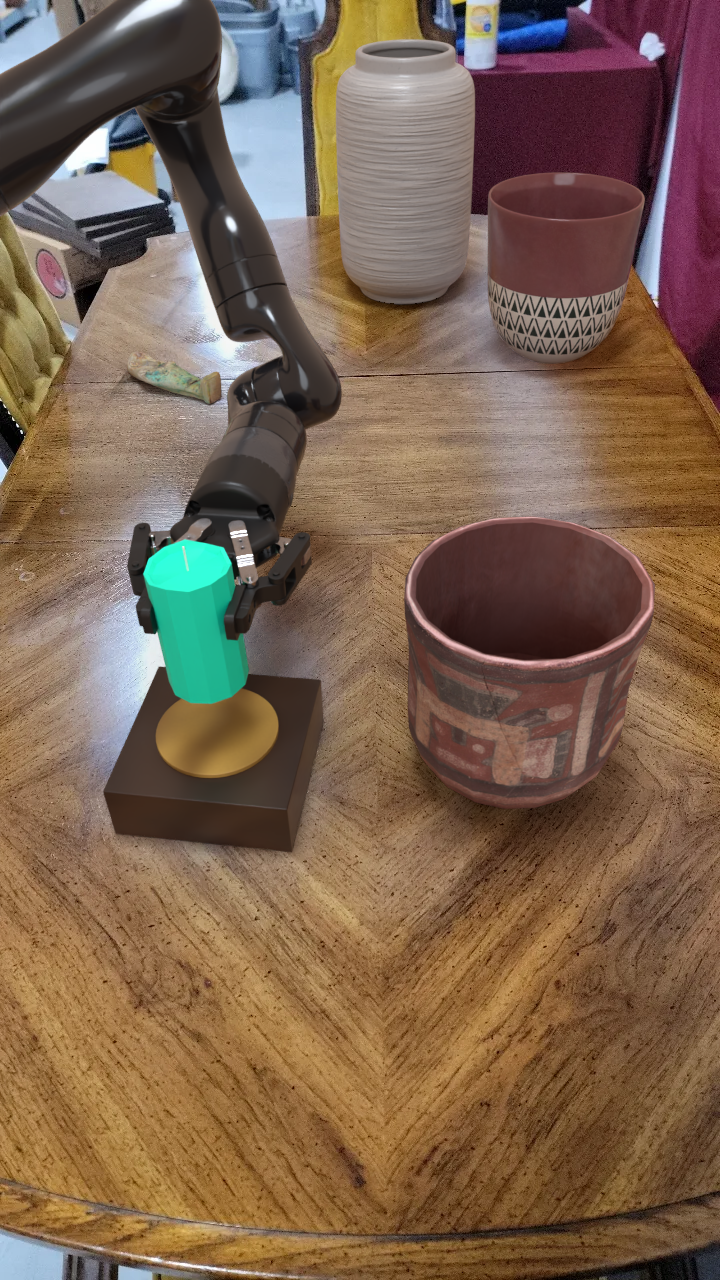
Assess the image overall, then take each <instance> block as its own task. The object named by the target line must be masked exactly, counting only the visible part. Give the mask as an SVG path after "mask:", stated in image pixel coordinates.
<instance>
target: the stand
mask: <svg viewBox="0 0 720 1280" xmlns="http://www.w3.org/2000/svg"><path fill="white" fill-rule="evenodd" d="M322 690H323V689H322V680H321V679H319V678H318V679H317V678H307V677H294V676H282V675H281V676H280V675H269V674H257V673H248V676H247V680H246V684H245V685H244V686H243V687H242V688H241V689H240V690H239V691H238V692H237V693H235V694H234V695H233V696H232V697H230V698H227V699H224V700H221V701H219V702H216V703H213V704H201V703H189V702H188V701H186V700H184V699H182V698H180V697H178V696H176V695H175V694H174V691H173V689H172V687H171V685H170V683H169V679H168V675H167V671H166V667H165V666H157V670H156V672H155V674H154V676H153V678H152V680H151V682H150V685H149V687H148V689H147V692H146V694H145V695H144V698H143V701H142V702H141V705H140V707H139V710H138V712H137V715H135V716H136V717H135V719H134V721H133V723H132V725H131V728H130V730H129V732H128V734H127V737H126V739H125V741H124V743H123V746H122V748H121V750H120V753H119V755H118V757H117V759H116V762H115V763H114V766H113V768H112V771H111V773H110V775H109V776H108V780H107V782H106V783H105V786H104V788H103V791H102V793H103V796H104V800H105V803H106V806H107V810H108V813H109V817H110V820H111V824H112V826H113V829H114V833H115V834H116V835H126V836H134V837H145V838H153V839H165V840H172V841H173V840H174V841H182V842H190V843H191V842H193V843H203V844H212V845H220V846H221V845H222V846H230V847H239V848H240V847H241V848H248V849H257V850H258V849H259V850H269V851H277V852H285V853H292V852H293V849H294V846H295V841H296V836H297V832H298V829H299V824H300V821H301V817H302V812H303V808H304V805H305V804H304V803H305V800H306V796H307V792H308V788H309V783H310V779H311V775H312V771H313V768H314V767H313V766H314V763H315V759H316V755H317V751H318V746H319V743H320V738H321V734H322V730H323V726H324V722H325V721H324V708H323V706H324V705H323V694H322V693H323V692H322Z"/></svg>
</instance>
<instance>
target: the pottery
mask: <svg viewBox="0 0 720 1280" xmlns="http://www.w3.org/2000/svg"><path fill="white" fill-rule="evenodd" d="M655 593H656V584H655V582H654V581H653V578H652V577H651V576H650V574H649V572H648V571H647V569H646V567H645V566H644V564H643V562H642V560H641V559H640V557H639V556H637V555H636V554H635V553H634V552H632V551H631V550H630V549H628V548H627V547H625V546H624V545H623V544H621V543H620V542H619V541H618V540H616V539H615V538H613V537H612V536H610V535H608V534H605V533H603V532H599V531H597V530H594V529H592V528H589V527H586V526H584V525H581V524H578V523H575V522H572V521H571V522H570V521H565V520H558V519H552V518H546V517H540V516H534V515H532V516H531V515H528V516H513V517H512V516H510V517H507V516H506V517H493V518H488V519H485V520H481V521H480V520H479V521H476V522H471V523H468V524H464V525H460V526H458V527H456V528H454V529H452V530H450V531H449V532H446V533H445V534H443V535H441V536H439V537H437V538H435V539H433V540H431V541H430V542H429V544H427V546H425V548H423V549H422V550H421V551H420V552H419V553H418V554H417V555H416V556H415V557H414V559H413V561H412V563H411V565H410V567H409V570H408V572H407V574H406V575H405V580H404V594H403V595H404V597H403V604H404V619H405V627H406V633H407V635H406V636H407V644H408V646H407V647H408V661H407V662H408V663H407V664H408V665H407V667H408V669H407V670H408V671H407V674H408V675H407V719H408V720H407V722H408V729H409V733H410V735H411V739H412V740H413V742H414V744H415V747H416V749H417V751H418V754H419V755H420V758H421V759H422V760H423V762H424V763H425V765H426V766H427V767H428V768H429V769H430V770H431V772H432V773H433V774H434V775H435V776H436V777H437V778H438V779H439V780H440V781H441V782H442V783H443V784H444V785H445V787H446V788H448V789H449V790H452V791H454V792H455V793H457V794H459V795H460V796H463V797H465V798H466V799H468V800H470V801H472V802H474V803H475V804H481V805H485V806H489V807H494V808H499V809H503V810H506V809H507V810H508V809H511V810H512V809H536V808H539V807H543V806H546V805H549V804H553V803H556V802H558V801H559V802H560V801H561V800H565V799H566V798H568V797H569V796H571V795H572V794H574V793H575V792H576V791H578V790H580V789H581V788H583V787H584V786H585V785H587V784H588V783H589V782H591V781H592V780H593V779H595V778H596V777H597V776H598V774H600V771H601V770H602V769H603V767H604V765H605V764H606V763H607V761H608V760H609V758H610V756H611V755H612V753H613V752H614V750H615V749H616V748H617V746H618V744H619V742H620V739H621V736H622V733H623V727H624V721H625V715H626V709H627V703H628V697H629V690H630V687H631V684H632V680H633V676H634V673H635V670H636V667H637V663H638V659H639V656H640V654H641V652H642V649H643V646H644V644H645V641H646V639H647V637H648V634H649V631H650V629H651V627H652V623H653V622H652V621H653V617H654V613H655V597H656V596H655Z"/></svg>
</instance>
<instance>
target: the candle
mask: <svg viewBox="0 0 720 1280" xmlns="http://www.w3.org/2000/svg"><path fill="white" fill-rule="evenodd" d="M143 575H144V579H145V583H146V587H147V592H148V596H149V599H150V601H151V603H152V605H153V609H154V613H155V617H156V622H157V626H158V630H157V633H156V634H157V638H158V641H159V645H160V650H161V654H162V658H163V662H164V667H166V671H167V675H168V679H169V683H170V685H171V687H172V689H173V691H174V694H175V695H176V696H178V697H180V698H182V699H184V700H186V701H188V702H189V703H201V704H213V703H216V702H219V701H221V700H224V699H227V698H230V697H232V696H233V695H234V694H235V693H237V692H238V691H239V690H240V689H241V688H242V687H243V686H244V685H245V684H246V680H247V676H248V674H249V672H250V667H249V662H248V656H247V649H246V644H245V638H244V634H240V636H239V638H238V640H227V638H226V633H225V626H224V615H225V612H226V610H227V607H228V604H229V602H230V601H231V599H232V596H233V593H234V589H235V586H236V583H235V581H236V580H234V575H233V569H232V563H231V561H230V559H229V557H228V555H227V553H226V551H225V549H224V548H223V547H219V546H215V545H211V544H207V543H201V542H196V541H191V540H182V541H180V542H177V543H174V544H171V545H168V546H165V547H163V548H162V549H161V550H160V551H158V552H157V553H156V554H154V555H153V556H152V557H150V558H149V559H148V562H147V565H146V568H145V571H144V574H143Z"/></svg>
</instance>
